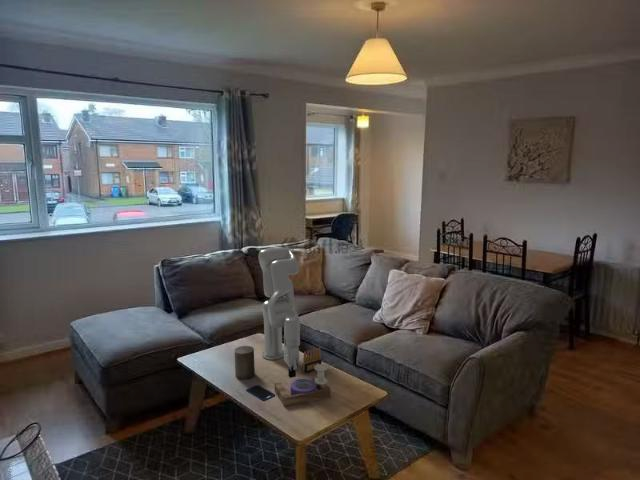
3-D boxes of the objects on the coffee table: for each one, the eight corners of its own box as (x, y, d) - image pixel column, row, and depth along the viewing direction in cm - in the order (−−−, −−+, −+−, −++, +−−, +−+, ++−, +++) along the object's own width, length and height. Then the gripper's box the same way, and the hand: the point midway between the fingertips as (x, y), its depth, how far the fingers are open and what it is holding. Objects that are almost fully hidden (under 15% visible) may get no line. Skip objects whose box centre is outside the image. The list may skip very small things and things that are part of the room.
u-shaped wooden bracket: (274, 391, 216) (274, 383, 215) (318, 383, 224) (318, 375, 223) (284, 406, 203) (284, 398, 202) (330, 397, 211) (330, 389, 210)
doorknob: (312, 380, 218) (312, 365, 217) (324, 378, 221) (324, 363, 219) (317, 386, 213) (317, 370, 212) (329, 383, 215) (329, 368, 214)
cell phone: (263, 402, 207) (263, 400, 207) (245, 391, 217) (245, 389, 217) (276, 396, 212) (276, 394, 212) (257, 385, 222) (257, 384, 222)
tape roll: (314, 387, 220) (314, 377, 219) (317, 400, 209) (317, 390, 208) (289, 389, 219) (289, 379, 218) (291, 402, 207) (291, 391, 206)
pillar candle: (258, 375, 232) (257, 346, 229) (242, 381, 225) (241, 352, 222) (247, 369, 239) (246, 341, 236) (231, 375, 232) (230, 346, 229)
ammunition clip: (304, 374, 233) (304, 351, 231) (302, 372, 235) (302, 350, 233) (321, 368, 239) (321, 346, 237) (319, 367, 241) (319, 345, 239)
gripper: (279, 336, 228) (280, 371, 231) (289, 349, 214) (289, 385, 218) (294, 334, 230) (294, 368, 234) (304, 346, 217) (304, 382, 221)
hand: (292, 376), depth 226 cm, fingers closed
